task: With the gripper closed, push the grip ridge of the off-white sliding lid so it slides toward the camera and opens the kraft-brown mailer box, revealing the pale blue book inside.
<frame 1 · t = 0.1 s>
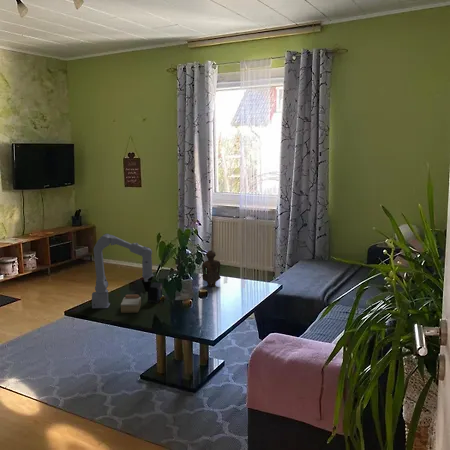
hand: (147, 289, 291), 10 cm above the table, fingers open, 7 cm apart
small box: (155, 301, 302), on the table, touching gripper
clay figurine: (211, 286, 333), on the table
lid: (131, 299, 286), point 6 cm above the table, slide at 0.0 cm
mailer: (131, 308, 287), on the table
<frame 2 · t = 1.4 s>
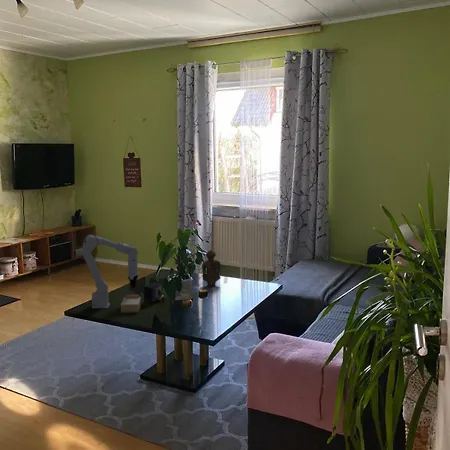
hand: (133, 287, 296), 10 cm above the table, fingers closed
small box: (153, 301, 302), on the table
everything else where it was.
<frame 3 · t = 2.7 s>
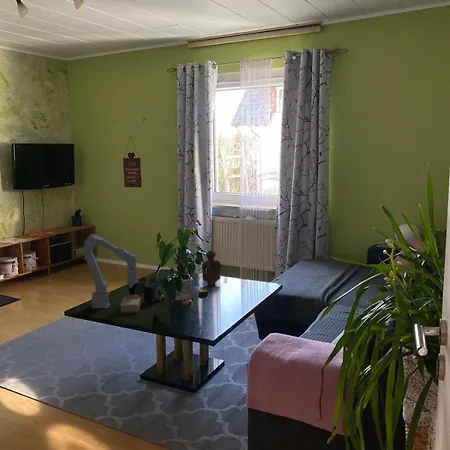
hand: (132, 295, 292), 6 cm above the table, fingers closed
lid: (130, 300, 286), point 6 cm above the table, slide at 0.4 cm, touching gripper
everything else where it was.
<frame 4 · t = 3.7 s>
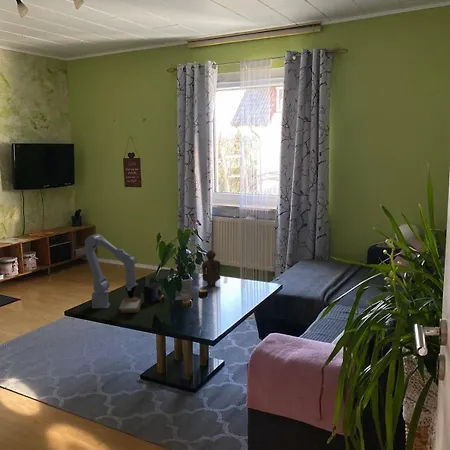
hand: (131, 298, 287), 6 cm above the table, fingers closed
lid: (129, 303, 280), point 6 cm above the table, slide at 6.0 cm, touching gripper
everything else where it was.
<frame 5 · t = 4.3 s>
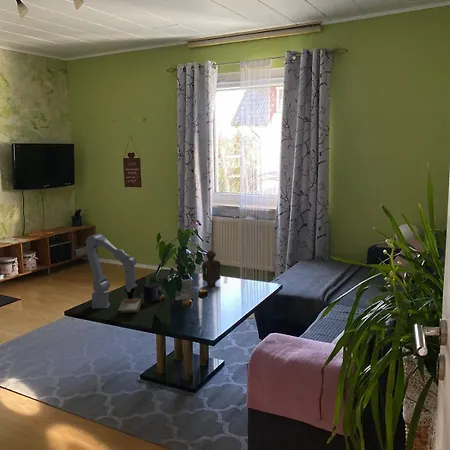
hand: (130, 299, 285), 6 cm above the table, fingers closed
lid: (129, 304, 278), point 6 cm above the table, slide at 8.1 cm, touching gripper
everything else where it was.
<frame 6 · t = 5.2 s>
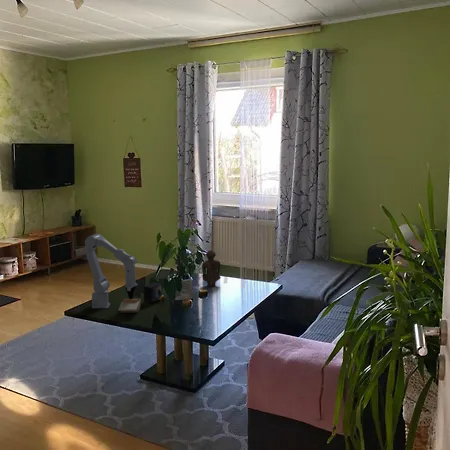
hand: (131, 298, 287), 6 cm above the table, fingers closed
lid: (128, 304, 278), point 6 cm above the table, slide at 8.2 cm
everything else where it was.
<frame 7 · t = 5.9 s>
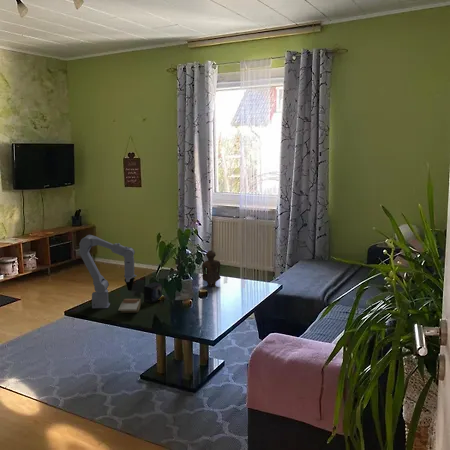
hand: (129, 290, 289), 10 cm above the table, fingers closed
nothing on the table moved.
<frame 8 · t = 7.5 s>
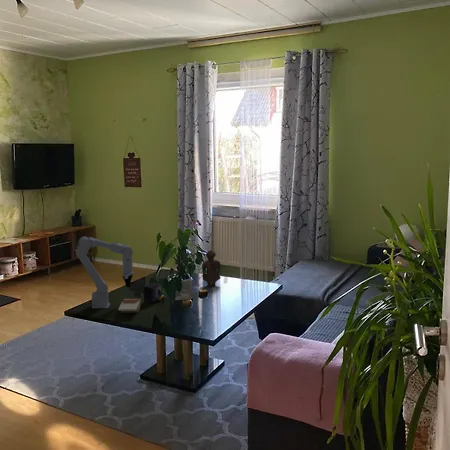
hand: (128, 287, 295), 10 cm above the table, fingers closed
nothing on the table moved.
at the end: lid slide at 8.2 cm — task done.
